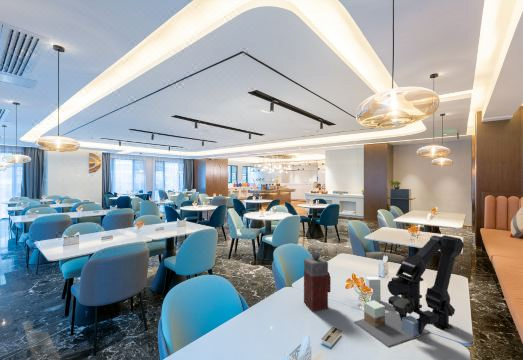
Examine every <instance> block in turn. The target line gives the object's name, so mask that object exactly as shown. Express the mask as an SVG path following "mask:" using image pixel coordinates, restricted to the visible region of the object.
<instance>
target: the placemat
mask: <svg viewBox="0 0 523 360" xmlns="http://www.w3.org/2000/svg"><path fill="white" fill-rule="evenodd" d="M353 323H354V324H355V325H357V326H358V327H360V328H361V329H363V331H365V332H367V333H368V334H369V335H370V336H372V337H374V338H375V339H376V340H377V341H379V342H381V344H383V345H385V346H386V347H387V348H389V347H394V346H395V345H398V344H401V343H403V342H406V341H409V340H412V339H415V338H419V337H422V336H424V335H427V334H430V333H431V331H430V330H428V329H427V328H424V330H423V332H422V333H421V334H418V335H415V336H412V335H410V334H409V333H407V332H405V331H404V330H402V321H401V318H400V315H399V313H397V311H396V312H395V311H394V310H392V311H391V310H390V311H388V312H385V325H382V326H378V327H373V326H372V325H370V324H369V323H367V322H366V321H364V318H361V319H358V320H355V321H353Z"/></svg>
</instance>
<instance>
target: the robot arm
mask: <svg viewBox="0 0 523 360" xmlns="http://www.w3.org/2000/svg"><path fill="white" fill-rule="evenodd" d="M464 246H465V244H464V242H463V240H462V239H461V238H460V237H454V236H450V235H447V234H446V235H445V234H444V235H442V236H439V235H431V236H430V237H429V240H428V241H427V242H426V243H425V244H424V245H422V247H421V248H420V249H419V250H418V251H417V253H416V254H414V255H412V256H411V255H410V256H409V257H406V258H405V259H404V260H403V261H402V262H401V263H400V266H399V268H398V270H397V271H396V273H395V276H396V277H391V280H389V281H388V283H387V290H388V292H389V293H390V294H391V295H392V296H389V297H388V304H389V305H391V306H392V307H393V308H394V310H395V311H396V313H397V312H398V313H397V314H399V315H400V318H401V321H402V318H403V317H406V316H408V314H409V315H411V314H412V313H414V314H417V315H418V316H419V317H418V318H416V320H417V321H418V332H419V334H421V333H422V332H423V330H424V329H426V326H427V325H433V326H434V327H438V328H439V329H441V330H443V331H445V330H448V329H449V328H453V327H454V326H453V324H451V323H450V321H449V320H450V318H449V317H453V315H455V311H456V309H455V308H454V306H453V305H452V304H451V296H450V294H449V290H448V289H449V286H450V285H449V284H450V281H451V276H452V272H453V267H454V264H455V260H456V258H457V257H458V256H459V255H461V254H462V251H463V248H464ZM439 251H440V258H439V263H438V267H437V270H436V275H435V280H434V283H433V286H432V287H428V288H427V289H426V294H425V295H424V296H425V302H426V305H427V307H428V308H430V309H432V311H431V310H425V311H424V310H422V309H421V308H423V305H422V304H421V299H422V298H423V295H422V294H421V289H420V288H421V286H420V285H421V282H424V280H425V279H424V278H423V277H422V276H423V274H424V272H425V271H426V269H427V268H426V267H427V266H426V265H427V264H428V262H430V260H432V258H434V256H435V255H436V254H437V253H438V252H439ZM395 311H394V312H395Z"/></svg>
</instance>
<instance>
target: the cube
mask: <svg viewBox="0 0 523 360" xmlns="http://www.w3.org/2000/svg"><path fill="white" fill-rule="evenodd" d="M416 319H417V317H414V316H412V315H411V314H409V315H407V316H406V317H403V318H402V330H404V331H405V332H407V333H409V334H410V335H412V336H415V335H418V334H419V332H418V321H417V320H416Z"/></svg>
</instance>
